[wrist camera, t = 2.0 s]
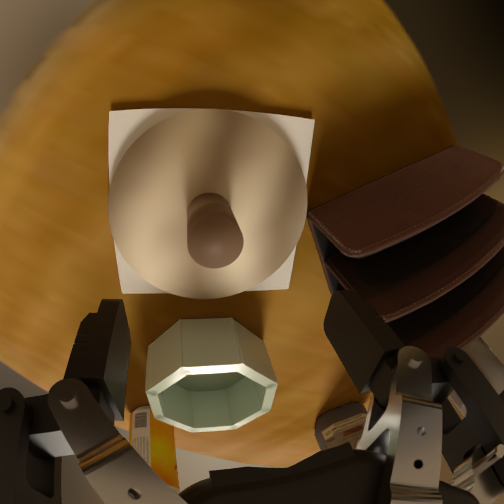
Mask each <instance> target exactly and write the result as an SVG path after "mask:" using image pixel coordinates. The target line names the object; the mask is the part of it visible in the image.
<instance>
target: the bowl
mask: <svg viewBox="0 0 504 504" xmlns="http://www.w3.org/2000/svg"><path fill="white" fill-rule="evenodd" d="M277 385H278V382H277V379H276V376H275V373H274V370H273V368H272V365H271V362H270V359H269V356H268V353H267V350H266V348H265V345H264V342H263V340H261V339H260V338H259V337H257V336H256V335H254V334H253V333H252V332H250V331H249V330H248V329H246V328H245V327H244V326H242V325H241V324H239V323H238V322H237V321H235V320H234V319H233V317H230V318H209V319H179V321H177V322H176V323H175V324H174V325H173V326H171V327H170V328H169V329H168V330H167V331H165V332H164V333H163V334H162V335H161V336H159V337H158V338H157V339H156V340H155V341H153V342H152V343H151V344H150V345H148V352H147V366H146V383H145V393H146V394H147V397H148V400H149V403H150V406H151V409H152V412H153V415H154V418H155V419H158V420H160V421H162V422H165V423H167V424H170V425H173V426H175V427H178V428H181V429H183V430H186V431H189V432H206V431H220V430H231V429H237V428H238V427H240V426H242V425H244V424H246V423H248V422H250V421H252V420H254V419H255V418H257V417H259V416H261V415H263V414H265V413H266V412H268V411H270V410H271V406H272V402H273V399H274V395H275V391H276V388H277Z"/></svg>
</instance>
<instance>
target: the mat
mask: <svg viewBox="0 0 504 504" xmlns="http://www.w3.org/2000/svg"><path fill="white" fill-rule="evenodd" d="M192 110H198V108H157V109H133V110H118V111H109V183H110V186H111V182H112V179H113V175H114V173H115V171H116V168H117V166H118V164H119V162H120V161H121V159H122V157H123V156H124V154H125V153H126V151H127V150H128V149H129V147H130V146H131V145H132V144H133V143H134V142H135V140H136V139H138V138H139V137H140V136H141V135H142V134H143V133H144V132H145V131H147V130H148V129H150V128H151V127H153V126H154V125H156V124H157V123H159V122H161V121H163V120H165V119H167V118H169V117H171V116H174V115H177V114H180V113H183V112H187V111H192ZM222 110H223V109H222ZM230 111H234V112H238V113H242V114H245V115H247V116H250V117H252V118H254V119H257V120H259V121H260V122H262V123H263V124H265V125H267V126H268V127H270V128H271V129H272V130H273V131H275V132H276V133H277V134H278V135H279V136H280V137H281V138H282V139H283V140H284V141H285V142H286V143H287V144H288V146H289V147H290V148H291V150H292V151H293V153H294V154H295V156H296V158H297V160H298V162H299V164H300V166H301V168H302V171H303V175H304V178H305V182H306V181H307V174H308V167H309V160H310V153H311V145H312V138H313V130H314V122H315V120H312V119H306V118H300V117H293V116H286V115H278V114H270V113H260V112H250V111H238V110H230ZM114 243H115V241H114ZM295 250H296V246H295V248H294V250H293V251H292V253H291V254H290V256H289V257H288V259H287V260H286V261H285V262H284V263H283V264H282V265H281V267H280V268H279V269H277V270H276V271H275V272H274V273H273V274H272V275H271V276H269V277H268V278H267V279H265V280H264V281H263V282H261V283H259V284H258V285H256V286H254V287H252V288H250V289H248V290H246V291H258V290H278V289H288V288H289V283H290V277H291V272H292V266H293V261H294V255H295ZM115 251H116V258H117V265H118V272H119V278H120V284H121V290H122V294H139V293H168V292H166V291H163V290H161V289H159V288H157V287H155V286H153V285H151V284H150V283H149V282H147V281H146V280H144V279H143V278H142V277H140V276H139V275H138V274H137V273H136V272H135V271H134V270H133V269H132V268H131V267H130V266H129V264H128V263H127V262H126V261H125V259H124V258H123V256H122V255H121V253H120V252H119V250H118V248H117V245H116V243H115Z"/></svg>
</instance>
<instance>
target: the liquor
mask: <svg viewBox="0 0 504 504" xmlns="http://www.w3.org/2000/svg"><path fill="white" fill-rule="evenodd" d="M366 417H367V411H366V409H365V407H364V406H363V405H361V404H359V403H354V402H352V403H350V404H347V405H344V406H341V407H339V408H336V409H333V410H330V411H327V412H326V413H325V414H323V415H322V416H320V417H319V418H318V419H317V423H316V428H315V434H314V435H315V437H316V439H317V442H318V444H319V447H320V449H321V451H323V450H326V449H329V448H333V447H336V446H339V445H342V444H345V443H348V442H350V444H351V446H352V448H353V449H356V447H357V445H358V443H359V442H360V440H361V437H362V435H363V431H364V426H365V422H366Z"/></svg>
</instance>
